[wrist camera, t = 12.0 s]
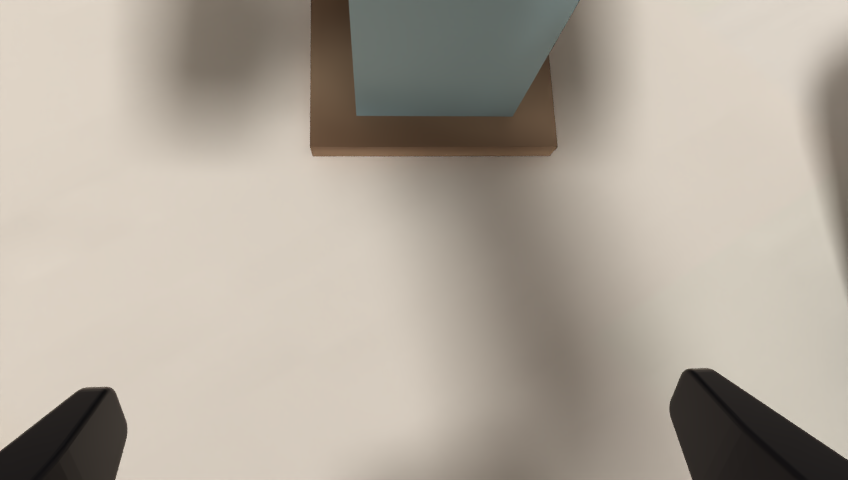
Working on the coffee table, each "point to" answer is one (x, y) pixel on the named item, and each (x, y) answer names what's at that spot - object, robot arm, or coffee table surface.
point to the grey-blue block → (450, 54)
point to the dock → (410, 135)
